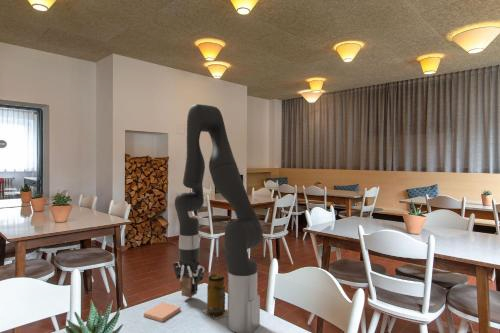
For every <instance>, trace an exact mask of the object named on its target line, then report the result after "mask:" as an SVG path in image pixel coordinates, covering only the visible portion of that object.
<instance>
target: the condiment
mask: <svg viewBox="0 0 500 333" xmlns="http://www.w3.org/2000/svg"><path fill="white" fill-rule="evenodd" d="M207 282H208V284H207V287H206V289H207V292H206V294H207V296H206V299H207V300H206V301H207V304H206V305H207V308H204V309H202V310H201V311H202V312H204V313H205V314H206V315H208V316H209V317H211V318H212V319H213V320H218V319H221V318H224V317H228V308H226V284H225V277H224V275H222V274H218V273H217V274H214V273H213V274H211V275H209V277H208V281H207Z"/></svg>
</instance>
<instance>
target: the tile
mask: <svg viewBox="0 0 500 333" xmlns="http://www.w3.org/2000/svg"><path fill="white" fill-rule="evenodd" d="M180 311H181V306H178V305H174V304H170V303H167V302H161V303H159V304H157V305H155V306H153V307H152V308H150V309H148V310H146V311H144V312H143V318H148V319H151V320H154V321H157V322H161V323H162V322H165V320H167V319H169V318H172V317H173V316H174V315H176V314H177V313H178V312H180Z"/></svg>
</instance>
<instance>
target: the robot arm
mask: <svg viewBox="0 0 500 333" xmlns="http://www.w3.org/2000/svg"><path fill="white" fill-rule="evenodd" d="M186 120H187V121H186V158H185V167H184V173H183V178H182V179H183V180H182V184H183V186H184V187H185V188H188V189H191V192H180V193H178V194H177V195H175V196H176V197H174V198H175V199H174V208H175V211H176V215H177V219H178V223H179V237H178V259H179V261H176V262H174V263H172V265H173V266H172V267H173V269H174V273H175V278H176V279H177V280H179V281H180V289H181V290H182V276H185V275H187V274H189V276H190V278H192V294H194V293H196V292H197V293H198V291H199V289H198V284H199V283H200V282H202V281H203V279H204V276H205V272H206V268H207V267H206V266H205V265H204V266H202V265H201V264H200V262H199V260H200V236H199V234H200V230H199V229H200V228H199V226H200V222H199V219H198V218H197V217H192V216H190V215H189V212H196V211H199V210H201V209H202V208H203V206H204V203H205V198H204V188H203V180H204V176H205V170H206V163H205V159H204V155H203V153H202V150H201V145H200V137H201V133H202V132H203V133H208V134H209V137H210V140H211V143H212V150H211V154H210V158H209V162H208V170H209V173H210V177H211V180H212V183H213V184H214V188H215V189H216V190H217V191H218V193H219V194H220V195H221V196H222V197H223V198H224V199H225V200H226V202H227V203H228V204H229V205H230V206H231V207H232V209H233V212H234V213H235V216H236V219H237V220H232V221H230V222H228V223H227V224H226V227H225V228H224V236H223V237H224V253H225V254H224V255H225V263H226V266H227V310H228V315H227V328H228V329H229V331H231V332H234V333H254V331H255V330H257V328H258V327H259V326H260V324H261V322H260V321H261V320H260V319H261V317H260V315H261V305H260V304H261V297H260V294H258V262H257V261H256V260H255V259H252V258H250V257H249V256H248V250H249V249H251V248H255V247H258V246H259V245H261V243H262V242H263V238H264V237H263V236H264V235H263V228H262V225H261V223H260V220H259V219H258V216H257V214H256V212H255V209H254V208H253V206H252V203H251V201H250V198H249V195H248V192H247V191H246V188H245V185H244V183H243V179H242V177H241V173H240V170H239V168H238V167H239V166H238V165H237V162H236V160H235V157H234V154H233V151H232V148H231V145H230V142H229V139H228V134H227V130H226V125H225V121H224V118H223V115H222V112H221V110H220V109H219V107H217V106H213V105H207V104H201V103H200V104H199V103H196V104H193V105H191V107H190V108H189V110H188V113H187V118H186ZM194 277H195V279H194Z"/></svg>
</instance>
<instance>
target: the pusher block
mask: <svg viewBox="0 0 500 333" xmlns="http://www.w3.org/2000/svg"><path fill="white" fill-rule="evenodd" d="M194 279H195V277H194ZM197 294H198V291H197V292H196V293H194V294H192V278H190V276H189V274H187V275H185V276H182V289H181V296H182V297H186V298H192V297H194V296H195V295H197Z"/></svg>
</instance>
